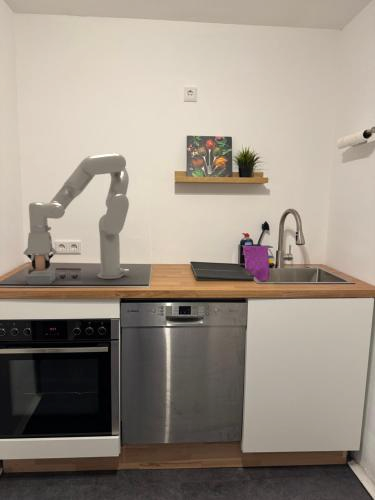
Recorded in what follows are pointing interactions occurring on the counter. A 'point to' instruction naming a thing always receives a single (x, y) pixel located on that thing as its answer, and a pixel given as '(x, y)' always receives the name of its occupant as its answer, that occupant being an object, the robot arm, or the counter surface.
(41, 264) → the terracotta cylinder
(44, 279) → the block
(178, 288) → the counter surface
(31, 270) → the walnut cube
